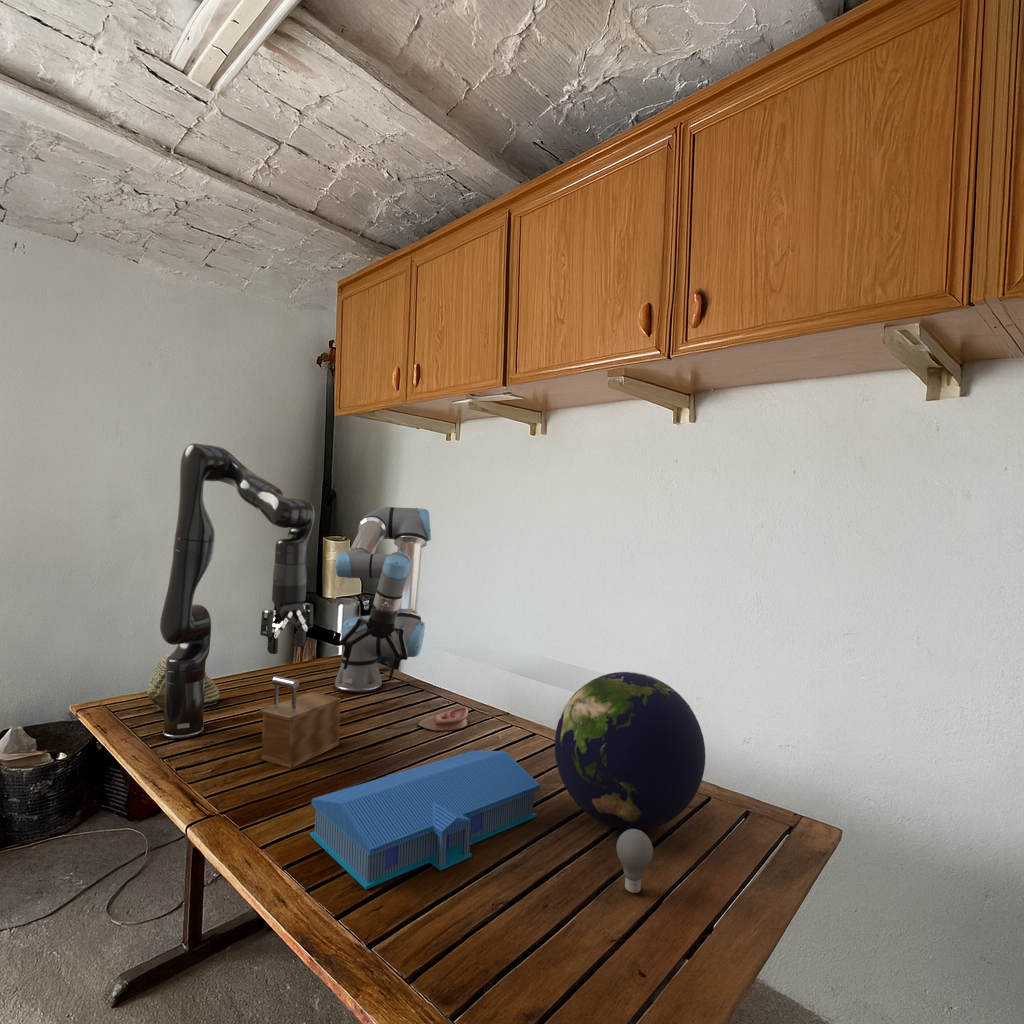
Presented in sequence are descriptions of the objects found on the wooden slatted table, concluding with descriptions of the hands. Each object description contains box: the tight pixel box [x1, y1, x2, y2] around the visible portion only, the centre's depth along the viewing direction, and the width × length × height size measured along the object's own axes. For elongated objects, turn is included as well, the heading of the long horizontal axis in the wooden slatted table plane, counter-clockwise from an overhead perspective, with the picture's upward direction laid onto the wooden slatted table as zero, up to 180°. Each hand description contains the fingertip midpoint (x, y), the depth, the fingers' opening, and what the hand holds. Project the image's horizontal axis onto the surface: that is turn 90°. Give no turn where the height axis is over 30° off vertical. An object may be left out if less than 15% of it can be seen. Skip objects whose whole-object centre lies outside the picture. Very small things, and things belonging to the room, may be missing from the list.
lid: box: [259, 675, 342, 721], centre depth 156 cm, size 17×10×8 cm, turn 154°
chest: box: [260, 701, 342, 769], centre depth 156 cm, size 16×10×11 cm, turn 154°
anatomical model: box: [417, 706, 469, 732], centre depth 179 cm, size 13×4×12 cm
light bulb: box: [615, 829, 654, 894], centre depth 106 cm, size 6×6×10 cm
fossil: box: [147, 654, 221, 712], centre depth 185 cm, size 9×18×15 cm, turn 132°
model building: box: [309, 750, 541, 890], centre depth 123 cm, size 39×24×10 cm, turn 132°
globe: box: [554, 671, 706, 831], centre depth 128 cm, size 30×30×30 cm
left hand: (287, 650), depth 150 cm, fingers open, 8 cm apart
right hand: (368, 672), depth 189 cm, fingers open, 13 cm apart
